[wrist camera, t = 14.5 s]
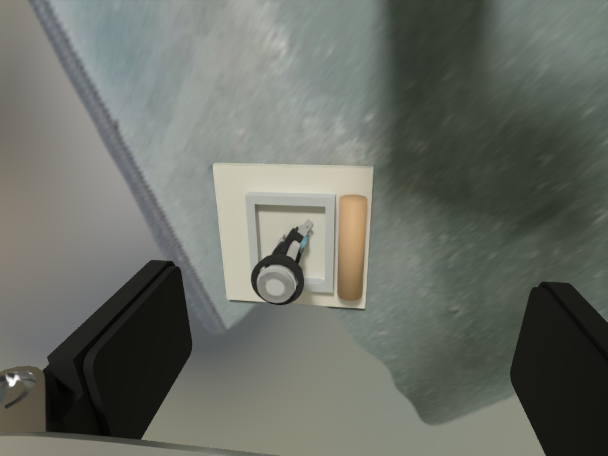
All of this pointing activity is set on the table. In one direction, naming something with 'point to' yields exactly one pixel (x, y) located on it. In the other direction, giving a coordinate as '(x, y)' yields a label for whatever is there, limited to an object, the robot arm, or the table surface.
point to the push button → (282, 269)
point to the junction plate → (289, 214)
